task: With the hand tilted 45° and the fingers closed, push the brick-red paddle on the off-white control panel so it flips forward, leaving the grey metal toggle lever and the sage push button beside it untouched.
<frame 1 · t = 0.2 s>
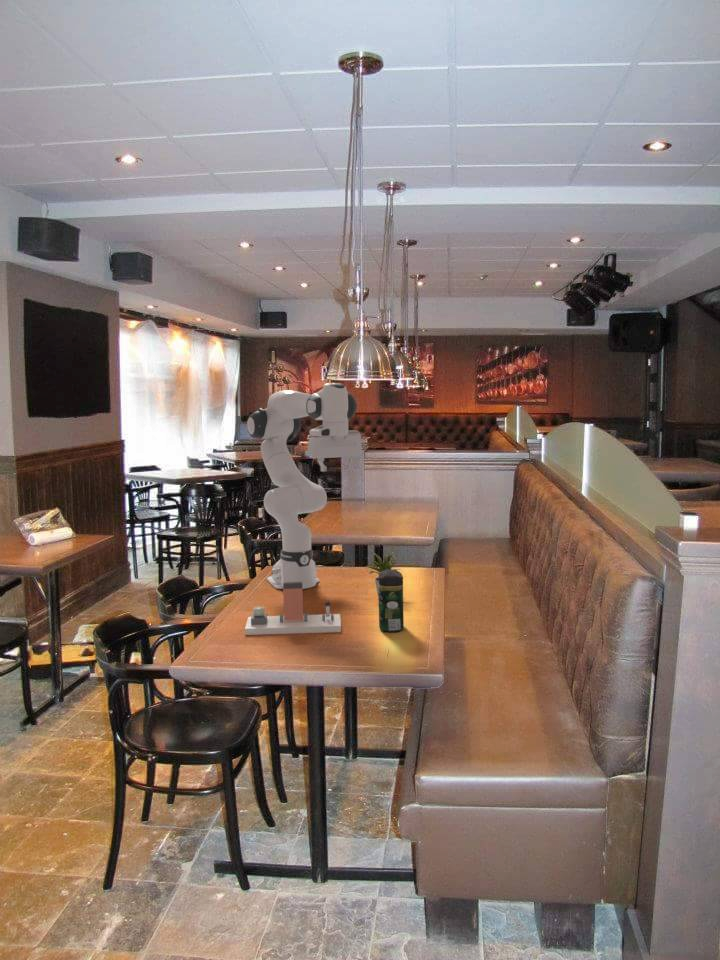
hand: (335, 470, 251), 48 cm above the table, tool pointing down, fingers open, 8 cm apart
coffee jar: (391, 628, 232), on the table
paddle: (293, 601, 233), point 9 cm above the table, hinge at 0.0°
toggle lever: (327, 608, 235), point 5 cm above the table, hinge at -20.0°
control panel: (293, 627, 234), on the table
house plant: (384, 594, 270), on the table
push button: (258, 611, 233), point 6 cm above the table, slide at 0.0 cm
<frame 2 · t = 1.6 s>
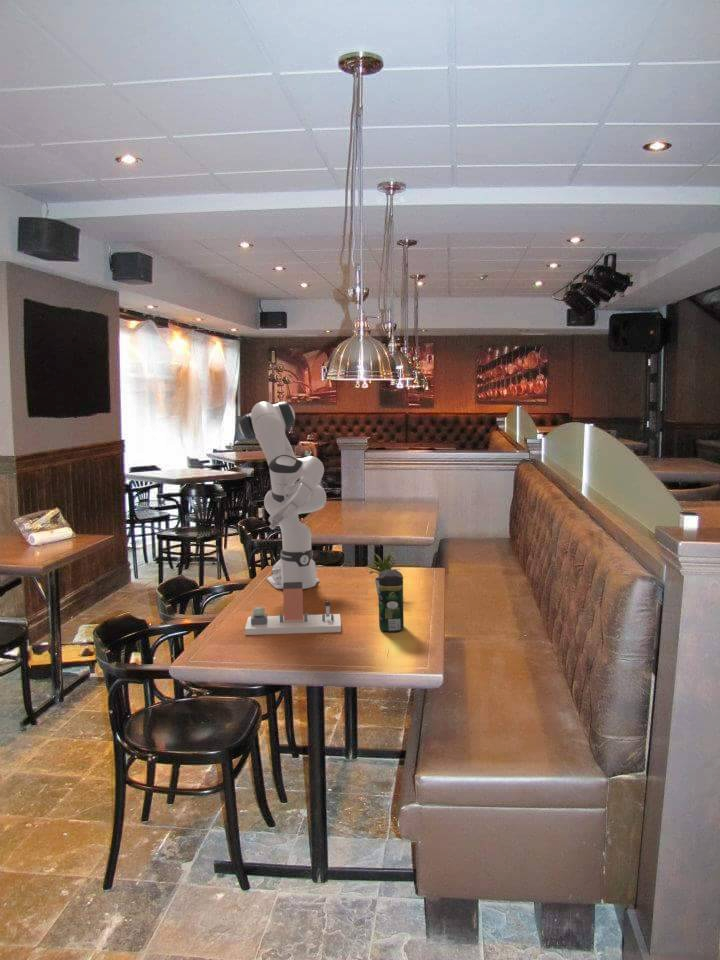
hand: (278, 522, 233), 34 cm above the table, tool tilted 55°, fingers open, 8 cm apart
nothing on the table moved.
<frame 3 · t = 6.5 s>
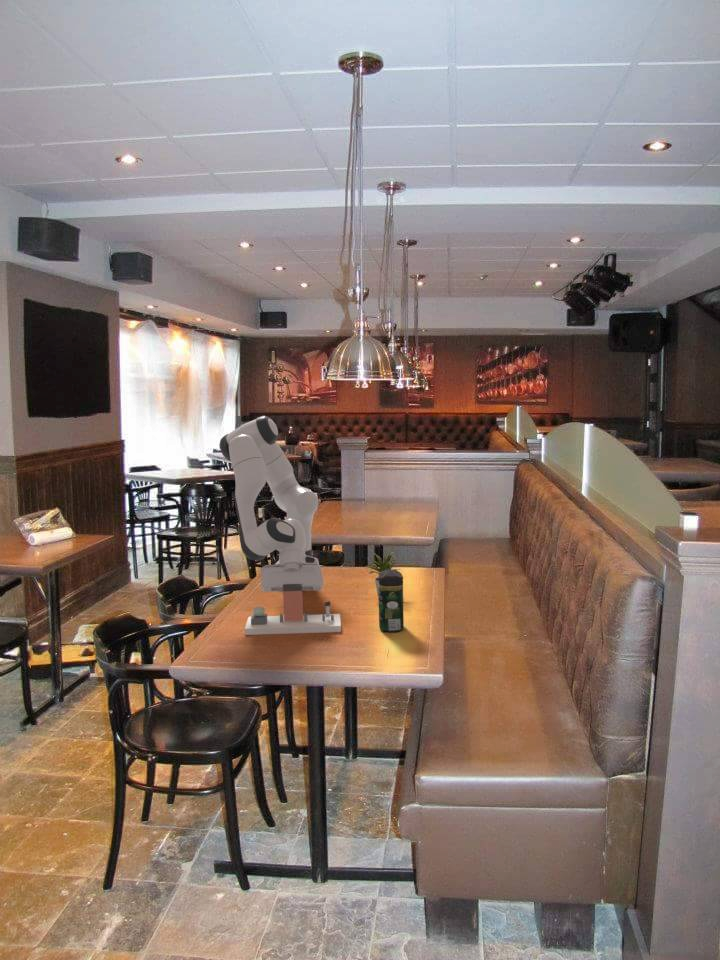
hand: (292, 601, 233), 8 cm above the table, tool tilted 45°, fingers closed, pressing on paddle
paddle: (293, 602, 232), point 9 cm above the table, hinge at 9.9°, touching gripper
everything else where it was.
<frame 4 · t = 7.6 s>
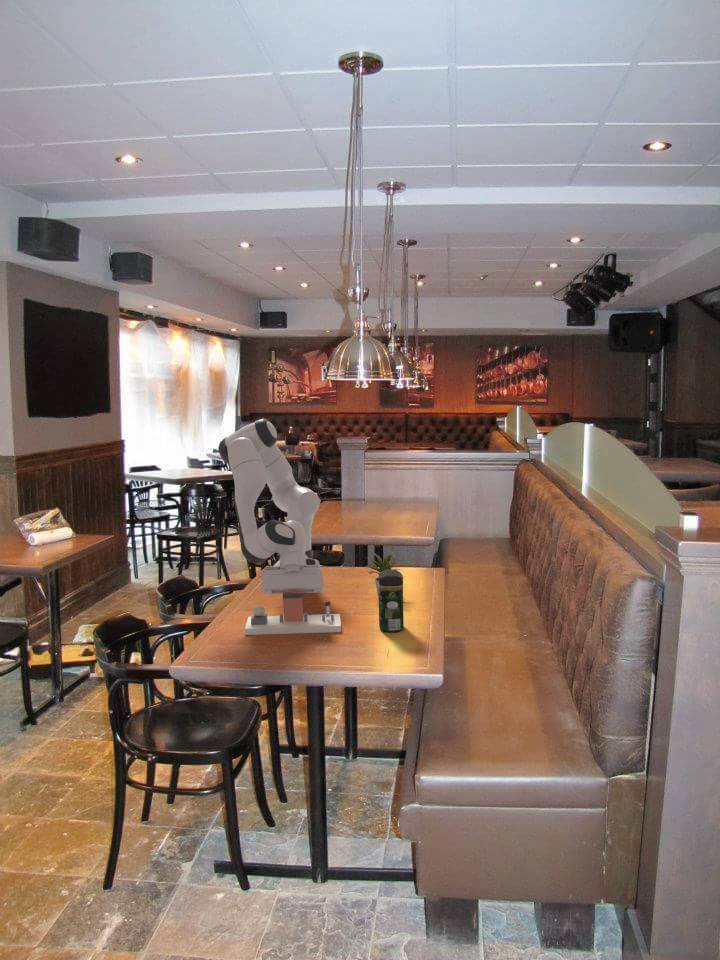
hand: (292, 604, 231), 8 cm above the table, tool tilted 45°, fingers closed, pressing on paddle
paddle: (293, 606, 230), point 8 cm above the table, hinge at 28.6°, touching gripper
everything else where it was.
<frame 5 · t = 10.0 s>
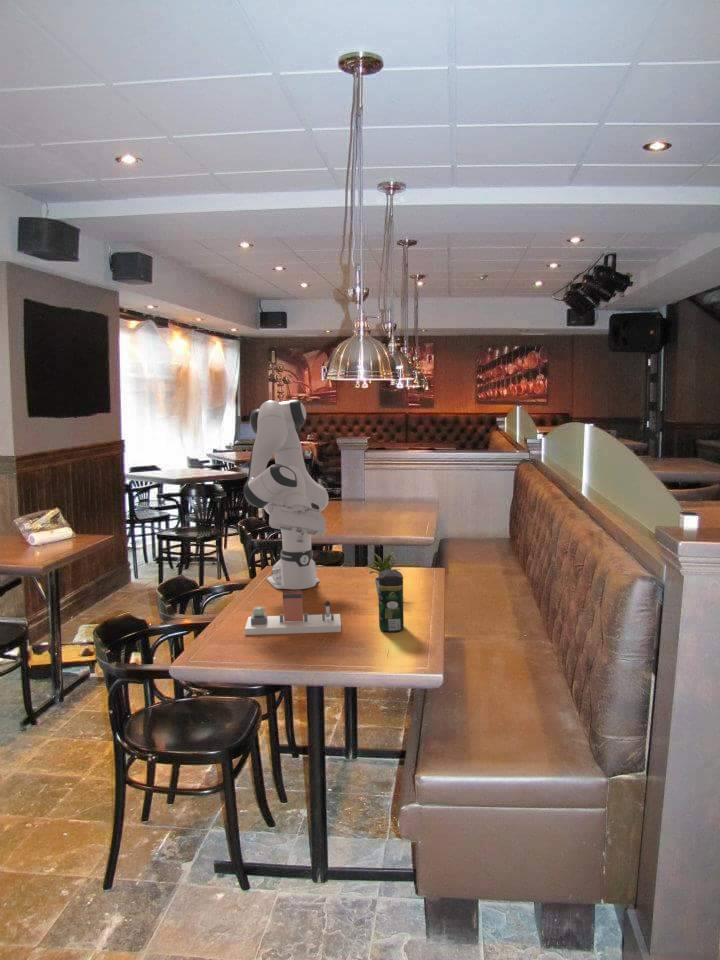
hand: (299, 541, 243), 25 cm above the table, tool tilted 45°, fingers closed
paddle: (293, 606, 230), point 8 cm above the table, hinge at 28.7°
everything else where it was.
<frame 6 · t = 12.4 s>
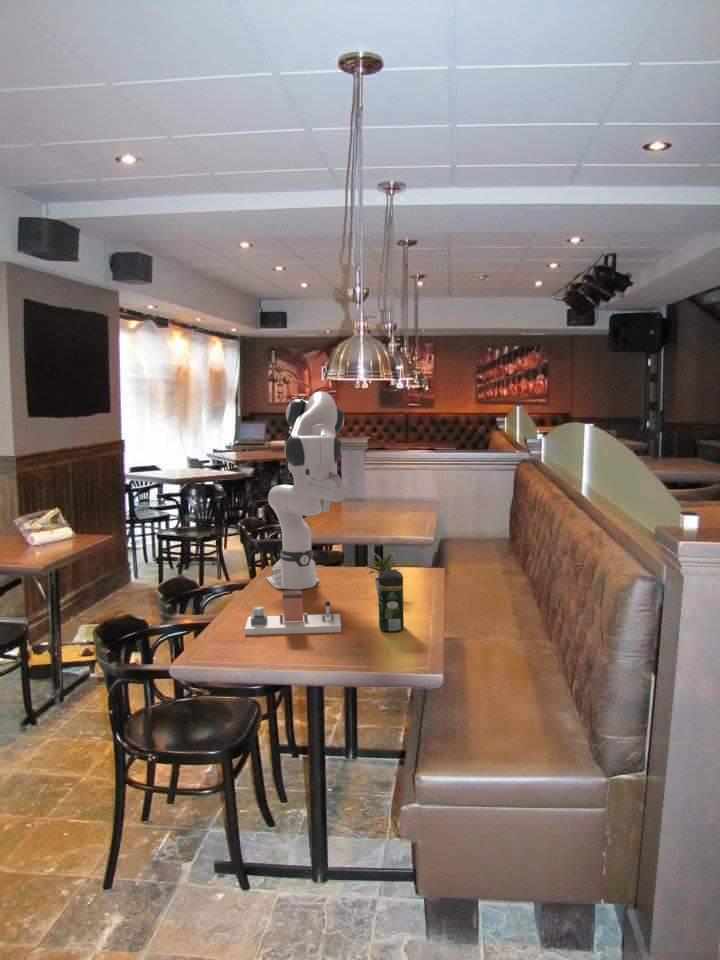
hand: (325, 511, 250), 34 cm above the table, tool pointing down, fingers closed
nothing on the table moved.
at the end: paddle at +29° (first picture: +0°); toggle lever at -20° (first picture: -20°); push button slide at 0.0 cm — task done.
